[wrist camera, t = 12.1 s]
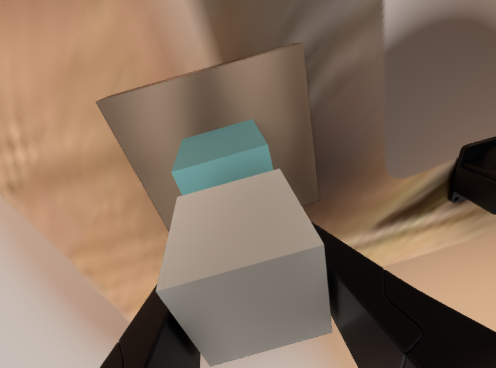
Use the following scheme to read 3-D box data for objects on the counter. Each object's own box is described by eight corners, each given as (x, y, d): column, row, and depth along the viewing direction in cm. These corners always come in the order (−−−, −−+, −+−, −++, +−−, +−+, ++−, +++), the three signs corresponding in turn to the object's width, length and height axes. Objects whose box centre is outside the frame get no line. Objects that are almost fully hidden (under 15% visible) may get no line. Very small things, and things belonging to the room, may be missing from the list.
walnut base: (293, 43, 16) (303, 42, 14) (310, 189, 22) (319, 200, 20) (108, 96, 16) (95, 101, 14) (177, 226, 22) (174, 241, 20)
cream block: (279, 168, 9) (324, 244, 5) (293, 242, 11) (332, 332, 7) (177, 197, 9) (155, 291, 5) (210, 265, 11) (210, 366, 7)
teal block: (252, 118, 16) (267, 144, 12) (267, 180, 18) (284, 219, 14) (182, 139, 16) (171, 172, 12) (206, 197, 18) (204, 242, 14)
